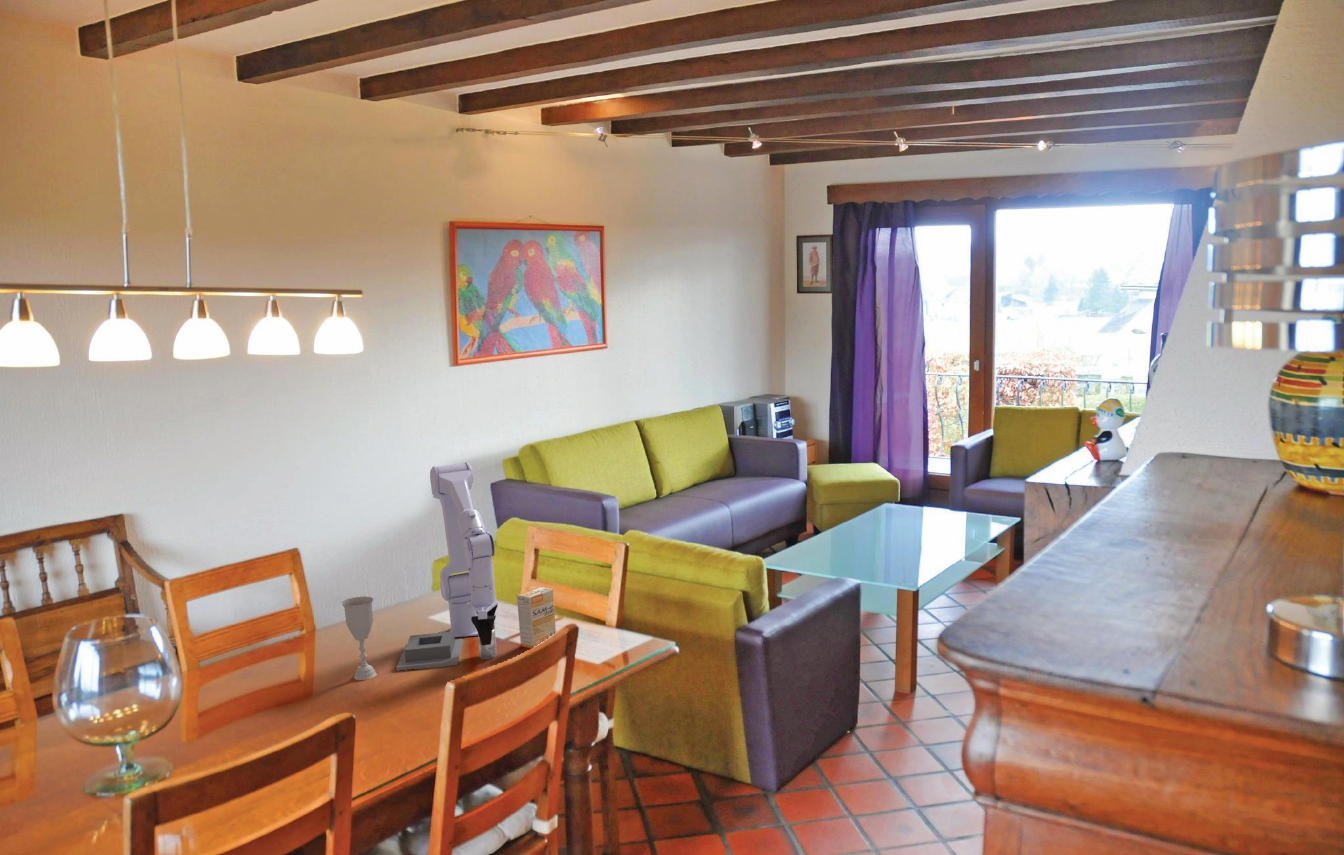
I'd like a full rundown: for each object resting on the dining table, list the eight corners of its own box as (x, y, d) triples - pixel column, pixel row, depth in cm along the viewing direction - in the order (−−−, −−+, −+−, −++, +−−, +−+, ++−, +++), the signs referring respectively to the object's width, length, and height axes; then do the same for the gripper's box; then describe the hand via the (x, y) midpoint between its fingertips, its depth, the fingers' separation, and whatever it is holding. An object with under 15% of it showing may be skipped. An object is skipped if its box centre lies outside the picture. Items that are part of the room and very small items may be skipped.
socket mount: (406, 648, 252) (404, 632, 251) (463, 642, 253) (461, 627, 253) (396, 671, 236) (395, 654, 236) (457, 665, 238) (456, 648, 237)
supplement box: (534, 649, 245) (529, 597, 243) (520, 646, 248) (515, 594, 246) (557, 639, 251) (553, 588, 250) (543, 636, 254) (539, 585, 253)
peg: (480, 654, 244) (477, 622, 243) (497, 652, 245) (494, 620, 244) (479, 660, 240) (476, 627, 239) (496, 658, 241) (493, 625, 240)
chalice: (342, 679, 233) (334, 603, 231) (364, 668, 239) (356, 595, 237) (366, 683, 230) (358, 606, 227) (387, 672, 236) (380, 598, 233)
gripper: (467, 577, 247) (472, 631, 248) (462, 594, 232) (468, 651, 234) (496, 575, 248) (501, 628, 249) (493, 591, 233) (498, 648, 235)
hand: (487, 639), depth 242 cm, fingers open, 7 cm apart
